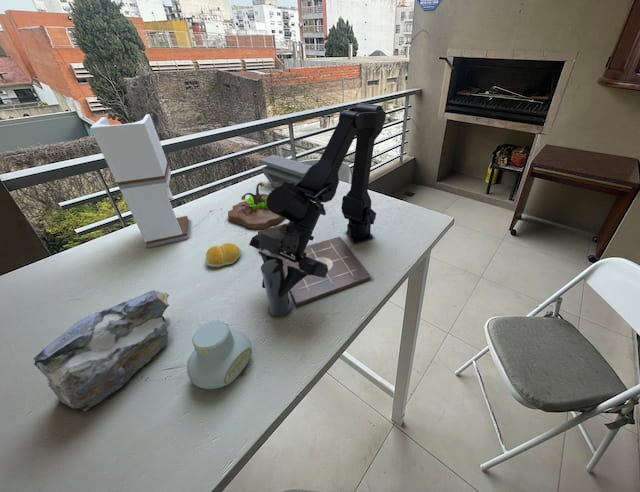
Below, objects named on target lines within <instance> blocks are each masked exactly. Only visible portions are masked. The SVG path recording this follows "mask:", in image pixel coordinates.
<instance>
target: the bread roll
mask: <svg viewBox="0 0 640 492" xmlns="http://www.w3.org/2000/svg"><path fill="white" fill-rule="evenodd" d="M241 253H242V252H241V248H240V247H239V246H238V245H237V244H235V243H231V242H230V243H229V242H227V243H223V244H221V245H220V246H219V245H213V246H211V247H209V248H208V249H207V250H206V253H205V262H206V265H207V266H208V267H212V268H220V267H223V266H227V265H228V266H229V265H233V264H234V263H236V261H238V259H239V258H240V256H241Z"/></svg>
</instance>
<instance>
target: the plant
mask: <svg viewBox="0 0 640 492" xmlns="http://www.w3.org/2000/svg"><path fill="white" fill-rule="evenodd" d="M259 187H261V188H262V187H265V182H262V181H261V182H259V183H257V185H256V188H255V193H253V192H252V193H251V192H246V193H245V194H243V195H242V196H241V197H240V199H241V200H242V201H240V202H238V203H237V204H234V205H232V209H230V210H228V211H227V216H228V219H229V221H230V222H232V223H235V224H240V225H242V226H245V227H246V228H247V229H250V230H251V229H252V230H264V229H268V228H270V227H271V226H273V225H277V224H278V225H279V223H281V222H282V221H283V220H285V218H283V217H281V216H279V215H277V214H275V213H272V212H271V211H269V209H268V208H267V203H266V202H267V197H268V195H269V194H267V193H266V194H265V193H264V192H262V193H260V189H259ZM248 195H249V198H246V196H248Z"/></svg>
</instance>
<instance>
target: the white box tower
mask: <svg viewBox="0 0 640 492" xmlns="http://www.w3.org/2000/svg"><path fill="white" fill-rule="evenodd" d="M89 129H90V131H91V133H92V135H93V137H94V139H95V141H96V143H97V145H98V147H99V149H100V150H99V151H100V152H101V153H102V156H103V158H104V161H105V162H106V165H107V166H108V168H109V171H110V172H111V174H112V176H113V178H114V180H115V182H116V185H117V187H118V188H119V191H120V192H121V194H122V197H123V198H124V201H125V203H126V205H127V207H128V209H129V211H130V213H131V215H132V217H133V219H134V221H135V223H136V225H137V227H138V230H139V231H140V233H141V235H142V238H143V240H144V242H145V244H146V246H147V248H152V247H156V246H161V245H167V244H171V243H175V242H179V241H184V240H189V234H190V233H189V232H190V231H189V230H190V220H189V217H188V215H184V216H179V217H177V215H176V213H175V211H174V208H173V206H172V203H171V201H172V200H174V196H173V193H172V191H171V188H170V181H171V175H172V171H171V169H170V165H169V163H168V159H167V157H166V155H165V151H164V149H163V146H162V144H161V141H160V138H159V135H158V131H157V130H156V127H155V124H154V122H153V119H152V116H151V114H150V113H146V114H145V116H144V117H143V118H142V119H141V120H138V121H135V122H129V123H121V124H110V122H109V120H108V118H107V116H104V117H103V116H102V117H100V119H98V120H97V121H96V122H94V123H93V124H92V125H91V126H90V127H89Z"/></svg>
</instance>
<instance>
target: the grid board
mask: <svg viewBox="0 0 640 492" xmlns="http://www.w3.org/2000/svg"><path fill="white" fill-rule="evenodd" d="M304 252H305V253H307V254H306V257H309V258H312V259H315V260H318V261H320V262H322V263H324V264H327V266H328V272H327V274H326V277H325V278H323V277H318V276H314V275H311V276H310V275H307V276H306V277H304V278H303V279H302V280H300V281H299V282H298V283H297V284H296V285H295V286H294V287H293V288H292V289H290V290H289V292H290V294H291V296H292V298H293V301H294V303H295V305H296V307H298V306H300V305H303V304H306V303H309V302H312V301H315V300H317V299H320V298H323V297H325V296H328V295H331V294H334V293H337V292H340V291H343V290H345V289H348V288H350V287H354V286H356V285H359V284H362V283H364V282H366V281H370V280H371V275H370V273H368V271H367V270H366V269H365V267H364V266H363V265H362V263H361V262H360V261H359V260H358V258H357V257H356V255H354V253H353V252H352V251H351V249H350V248H349V247H348V245H347V244H346V243H345V241H343V239H342V238H341V236H338V237H333V238H330V239H327V240H323V241H319V242H317V243H312V244H309V245H307V246H306V248H305V251H304ZM286 253H287V252H286ZM292 256H294V255H292ZM294 257H295V256H294ZM279 258H281V259H283V261H282V262H283V264H284V270H285V276H287V273H288V271H287V266H291V267H293V266H294V264H295V263H294V262H292V261H290V260H288V259H285V258H283V257H281V256H279Z"/></svg>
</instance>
